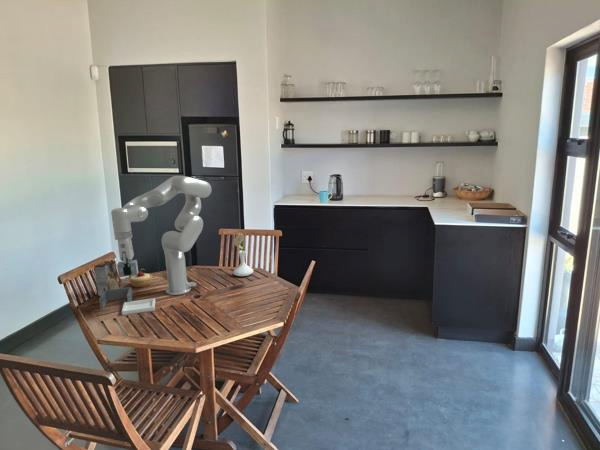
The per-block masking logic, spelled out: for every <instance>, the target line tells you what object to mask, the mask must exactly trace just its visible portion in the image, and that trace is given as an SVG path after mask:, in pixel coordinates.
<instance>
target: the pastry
mask: <svg viewBox="0 0 600 450" xmlns="http://www.w3.org/2000/svg"><path fill="white" fill-rule="evenodd" d="M142 270H144V271H146V269H144V268H141V269H140V271H138V274H137V275H134V276H129V277H130V278H129V283H130V285H131V286H132V288H137V289H138V288H145V287H146V288H147V287H149V286H151V285H152V283H153V280H154V278H153V275H152V274H151V273H146V272H143V271H142ZM150 284H151V285H150Z"/></svg>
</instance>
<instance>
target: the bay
mask: <svg viewBox="0 0 600 450" xmlns="http://www.w3.org/2000/svg"><path fill="white" fill-rule="evenodd" d="M133 297H134V293H133V286H132V287H131V286H130V287H129V286H128V287H127V286H126V287H121V288H120V287H119V289H111V290H106V291H103V292H102V294H101V296H99V299H98V301H99V308H100V309H99V310H101V309H103V310H104V308H105V307H106V303H107V301H113V300H121V299H122V300H123V299H126V300H127V301H126V302H130V301H133Z"/></svg>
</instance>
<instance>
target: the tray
mask: <svg viewBox="0 0 600 450" xmlns="http://www.w3.org/2000/svg"><path fill="white" fill-rule="evenodd" d="M155 310H156V298H155V297H154V298H147V299H140V300H139V299H138V300H132V301H130V302H128V301H124V302H123V305H122V309H121V316H122V317H123V316H127V315H128V316H129V315H136V314H143V313H149V312H151V313H152V312H155Z"/></svg>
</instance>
